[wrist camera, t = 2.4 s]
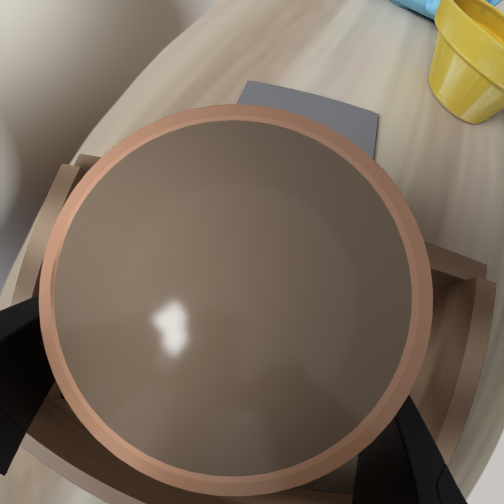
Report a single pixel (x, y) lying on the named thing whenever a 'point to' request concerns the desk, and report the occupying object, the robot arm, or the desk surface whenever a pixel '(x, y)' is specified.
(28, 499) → the desk surface
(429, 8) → the decorative pot
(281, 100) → the potting mat
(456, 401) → the frame
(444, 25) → the plant pot
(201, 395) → the terracotta pot
